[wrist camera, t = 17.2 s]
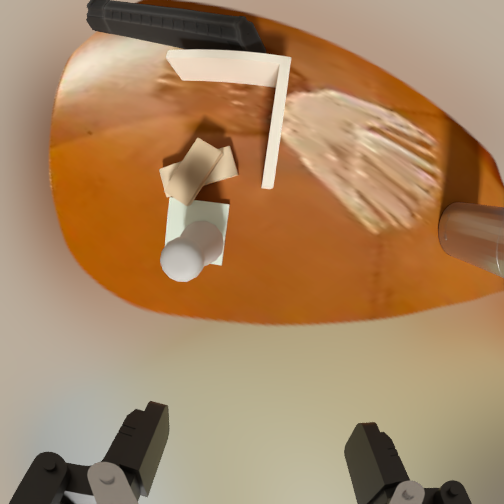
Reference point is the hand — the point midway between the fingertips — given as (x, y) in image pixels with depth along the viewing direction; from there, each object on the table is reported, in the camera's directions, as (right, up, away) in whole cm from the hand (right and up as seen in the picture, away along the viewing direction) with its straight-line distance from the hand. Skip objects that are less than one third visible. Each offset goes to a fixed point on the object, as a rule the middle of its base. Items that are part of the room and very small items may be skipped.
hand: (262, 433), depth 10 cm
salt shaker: (-7, +9, +29) cm, 31 cm away
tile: (-8, +10, +29) cm, 32 cm away
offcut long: (-8, +18, +28) cm, 34 cm away
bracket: (-4, +25, +26) cm, 36 cm away
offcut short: (-8, +18, +26) cm, 32 cm away
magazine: (-13, +41, +23) cm, 49 cm away
